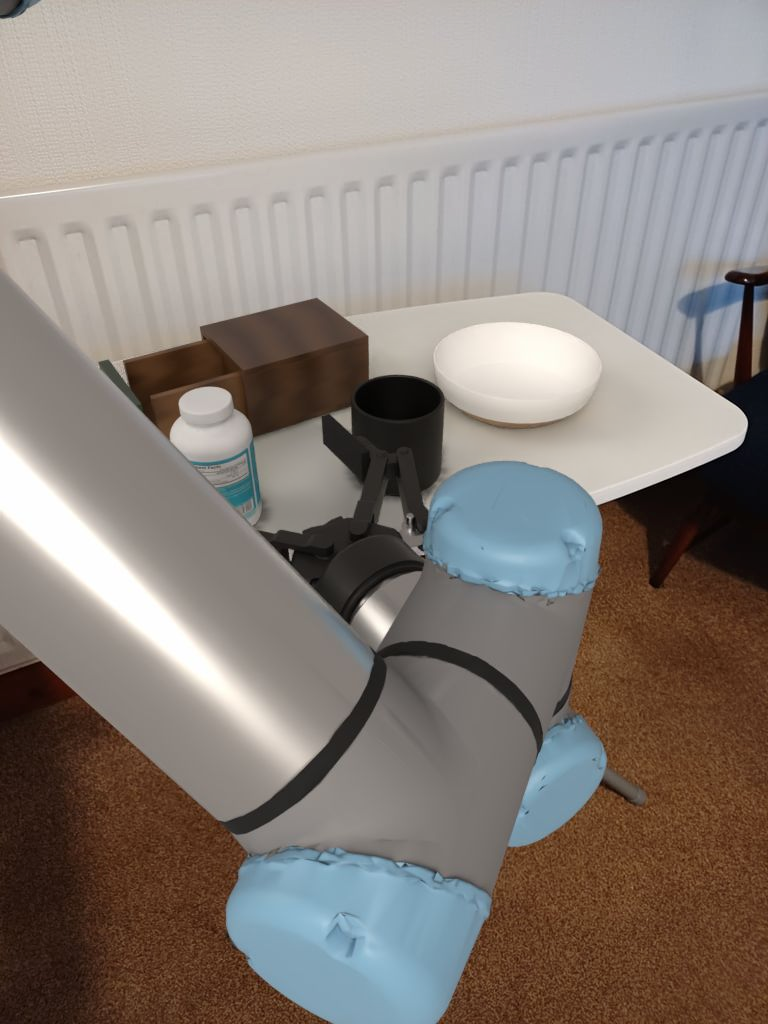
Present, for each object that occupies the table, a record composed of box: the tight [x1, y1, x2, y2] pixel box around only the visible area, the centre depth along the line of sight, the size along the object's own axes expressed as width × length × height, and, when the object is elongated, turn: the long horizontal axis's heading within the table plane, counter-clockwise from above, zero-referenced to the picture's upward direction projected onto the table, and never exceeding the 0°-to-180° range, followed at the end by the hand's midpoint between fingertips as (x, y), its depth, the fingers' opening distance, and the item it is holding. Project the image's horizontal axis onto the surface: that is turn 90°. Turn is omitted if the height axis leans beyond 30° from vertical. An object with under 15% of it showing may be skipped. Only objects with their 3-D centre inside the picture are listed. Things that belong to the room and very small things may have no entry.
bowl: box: [432, 321, 603, 429], centre depth 93 cm, size 20×20×6 cm
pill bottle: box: [170, 387, 263, 527], centre depth 74 cm, size 8×7×14 cm
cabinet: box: [199, 297, 370, 438], centre depth 94 cm, size 16×13×9 cm
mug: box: [350, 374, 446, 496], centre depth 82 cm, size 9×12×9 cm
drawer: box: [97, 339, 247, 440], centre depth 87 cm, size 20×11×7 cm, turn 122°
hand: (251, 452), depth 63 cm, fingers open, 13 cm apart
